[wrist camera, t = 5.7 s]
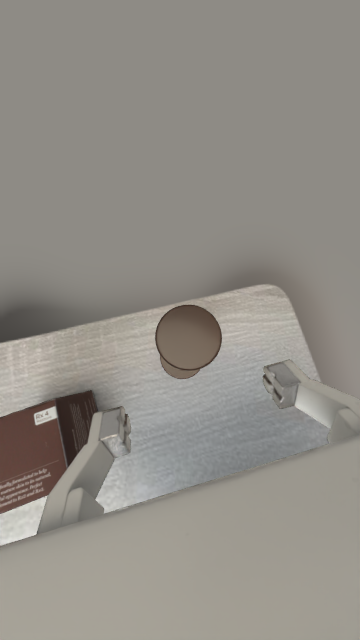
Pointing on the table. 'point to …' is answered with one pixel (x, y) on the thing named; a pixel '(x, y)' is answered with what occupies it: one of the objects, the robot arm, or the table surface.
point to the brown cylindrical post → (187, 340)
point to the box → (41, 446)
